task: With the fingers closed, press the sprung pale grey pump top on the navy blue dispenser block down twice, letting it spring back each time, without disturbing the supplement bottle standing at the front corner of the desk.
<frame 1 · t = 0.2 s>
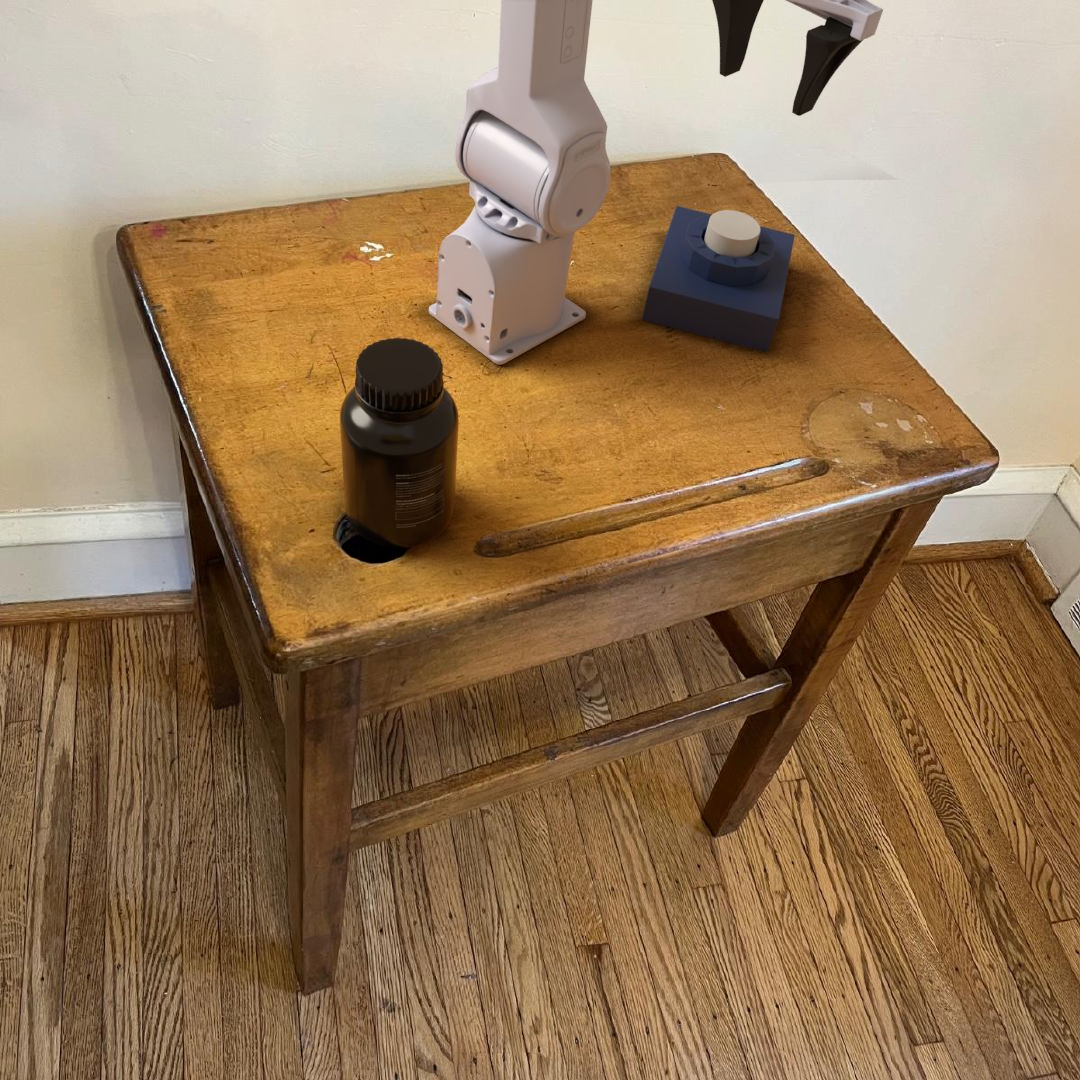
hand: (765, 91, 89), 10 cm above the table, tool pointing down, fingers open, 7 cm apart
pump top: (732, 234, 83), point 5 cm above the table, slide at 0.1 cm
supplement bottle: (398, 513, 68), on the table
dispenser: (715, 292, 87), on the table
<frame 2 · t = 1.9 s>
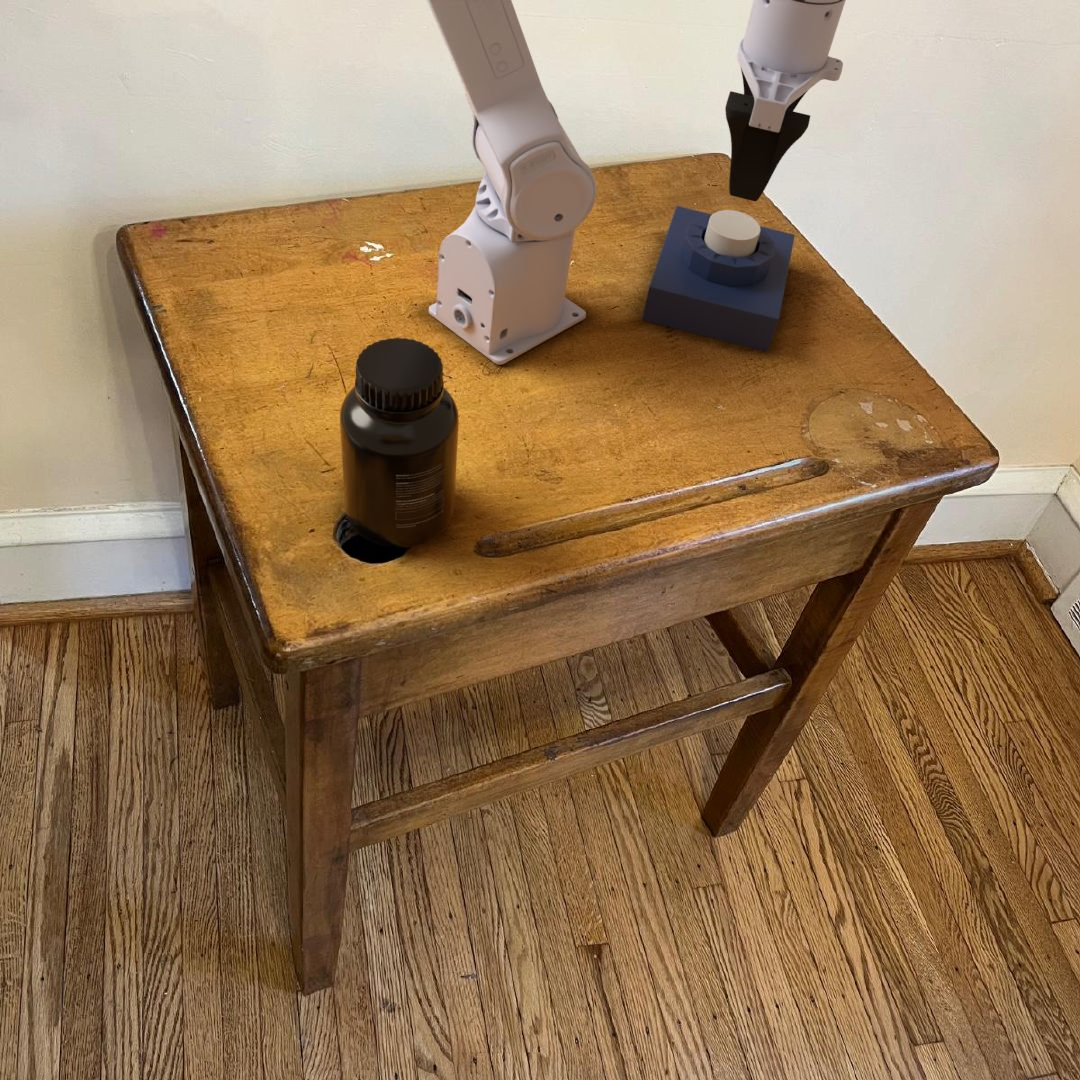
hand: (748, 176, 79), 10 cm above the table, tool pointing down, fingers open, 5 cm apart
nothing on the table moved.
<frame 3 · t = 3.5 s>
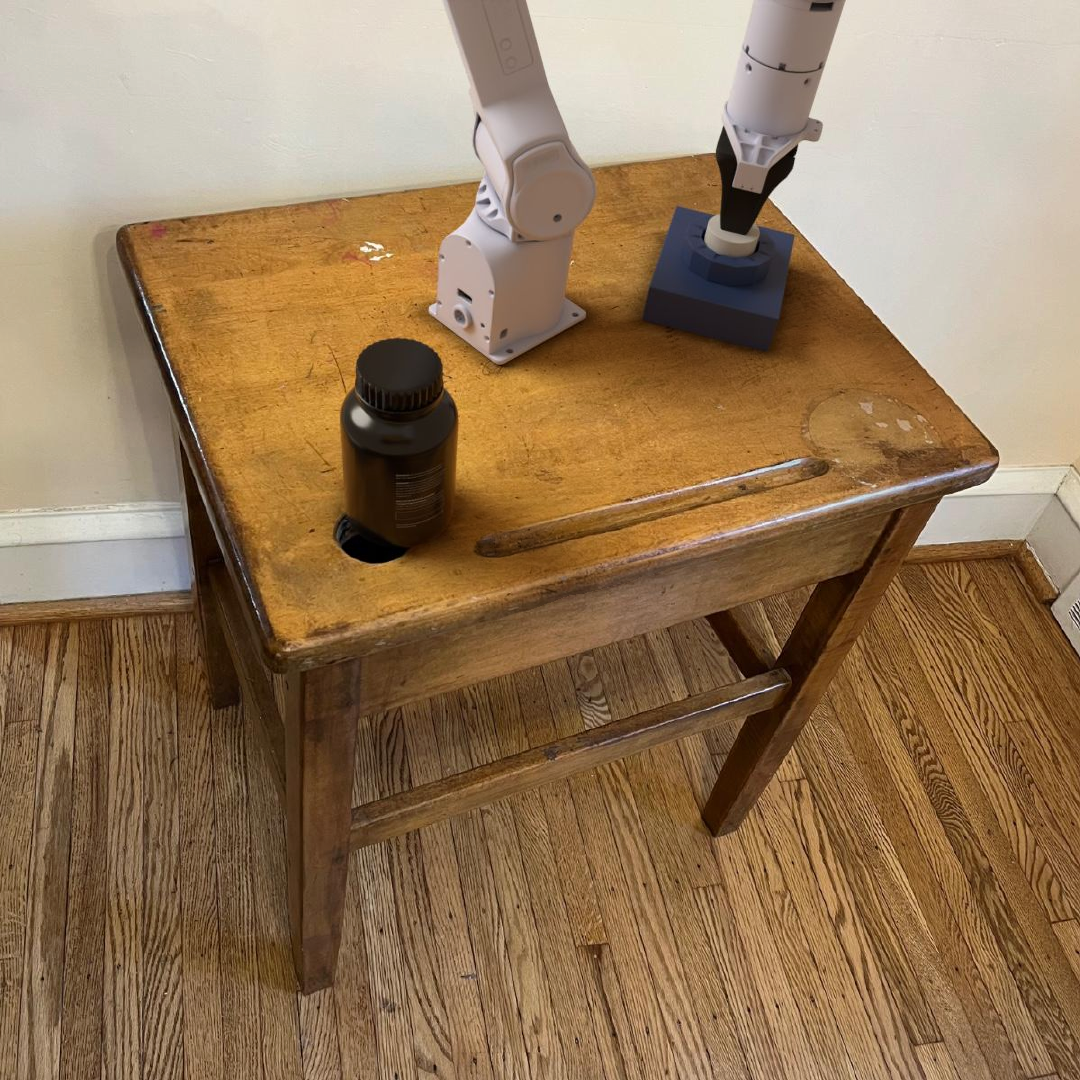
hand: (734, 228, 82), 6 cm above the table, tool pointing down, fingers closed, pressing on pump top
pump top: (731, 237, 83), point 5 cm above the table, slide at -0.2 cm, touching gripper
everything else where it was.
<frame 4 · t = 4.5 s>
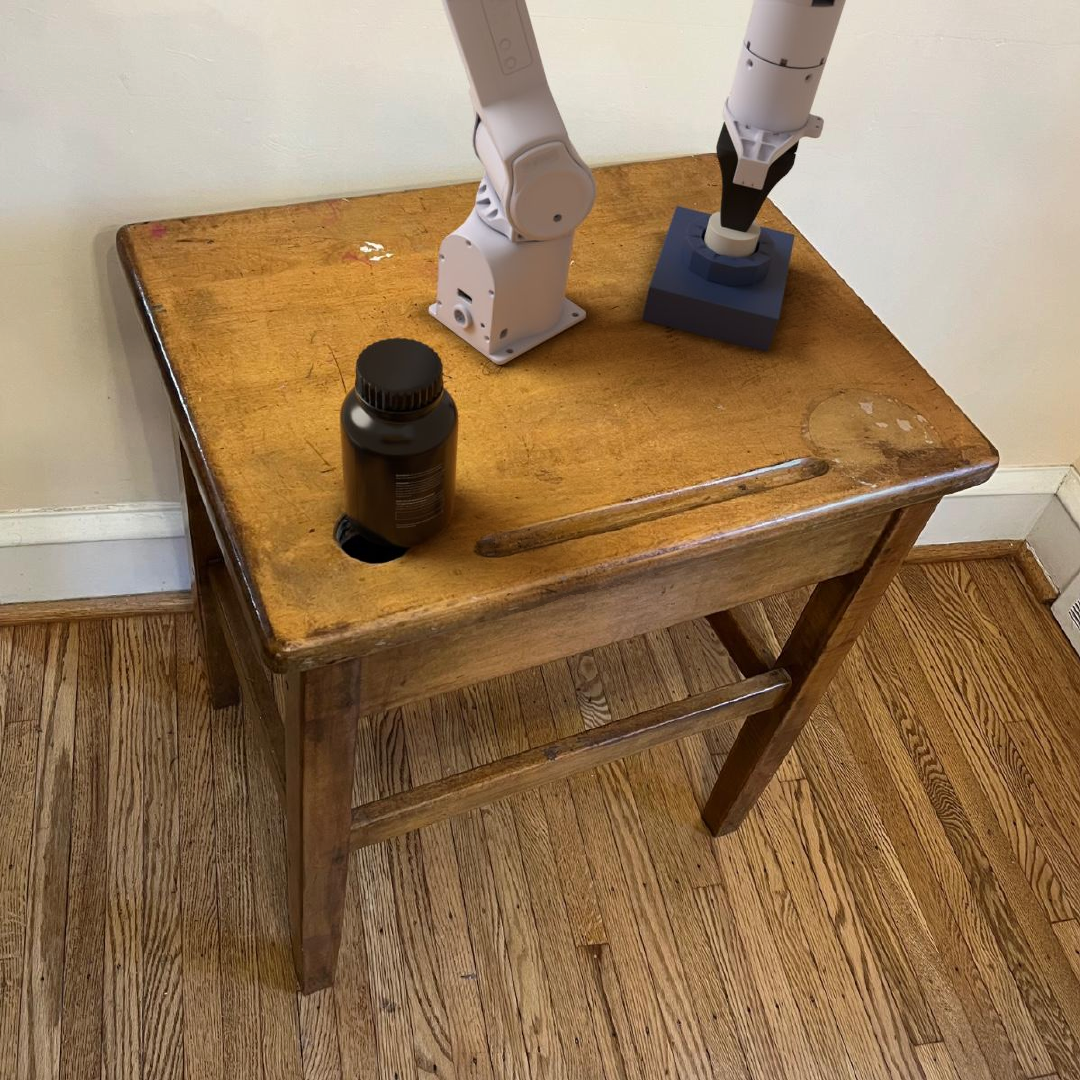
hand: (734, 225, 82), 6 cm above the table, tool pointing down, fingers closed, pressing on pump top
pump top: (732, 234, 83), point 5 cm above the table, slide at 0.1 cm, touching gripper
everything else where it was.
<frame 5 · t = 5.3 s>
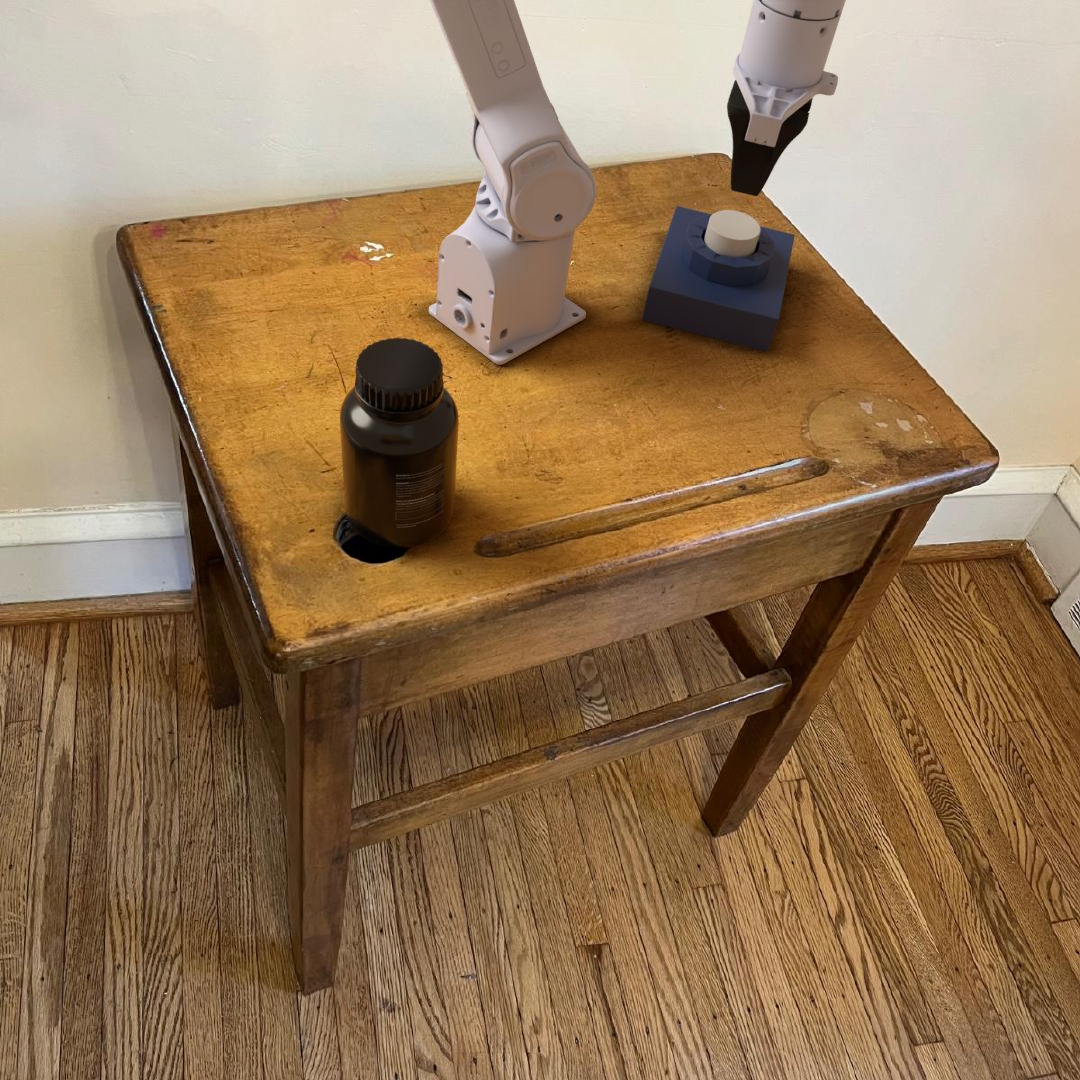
hand: (745, 188, 80), 9 cm above the table, tool pointing down, fingers closed
pump top: (732, 234, 83), point 5 cm above the table, slide at 0.1 cm
everything else where it was.
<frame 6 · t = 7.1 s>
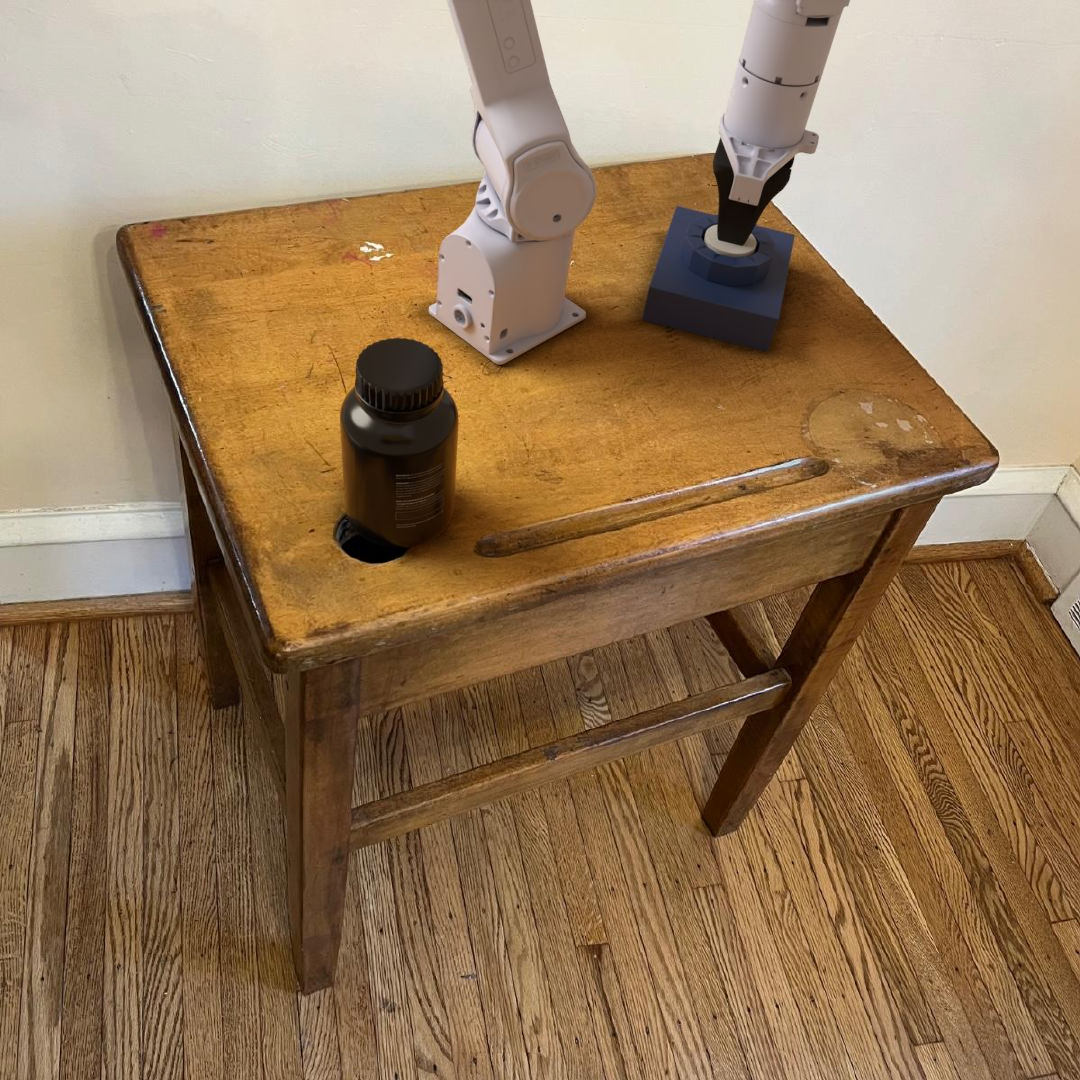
hand: (731, 238, 83), 5 cm above the table, tool pointing down, fingers closed, pressing on pump top
pump top: (728, 247, 84), point 4 cm above the table, slide at -1.1 cm, touching gripper
everything else where it was.
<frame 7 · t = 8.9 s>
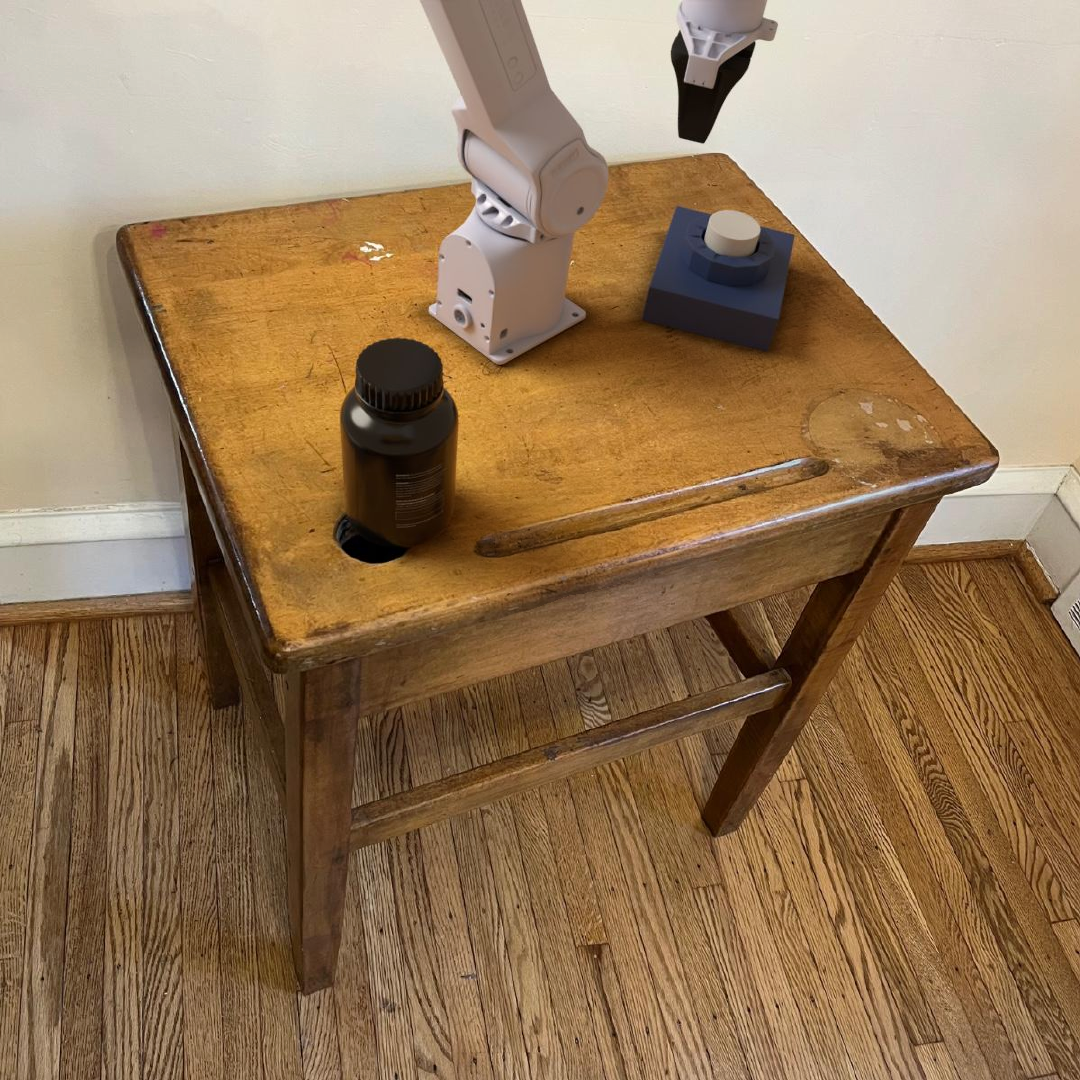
hand: (692, 136, 82), 10 cm above the table, tool pointing down, fingers closed
pump top: (732, 234, 83), point 5 cm above the table, slide at 0.1 cm
everything else where it was.
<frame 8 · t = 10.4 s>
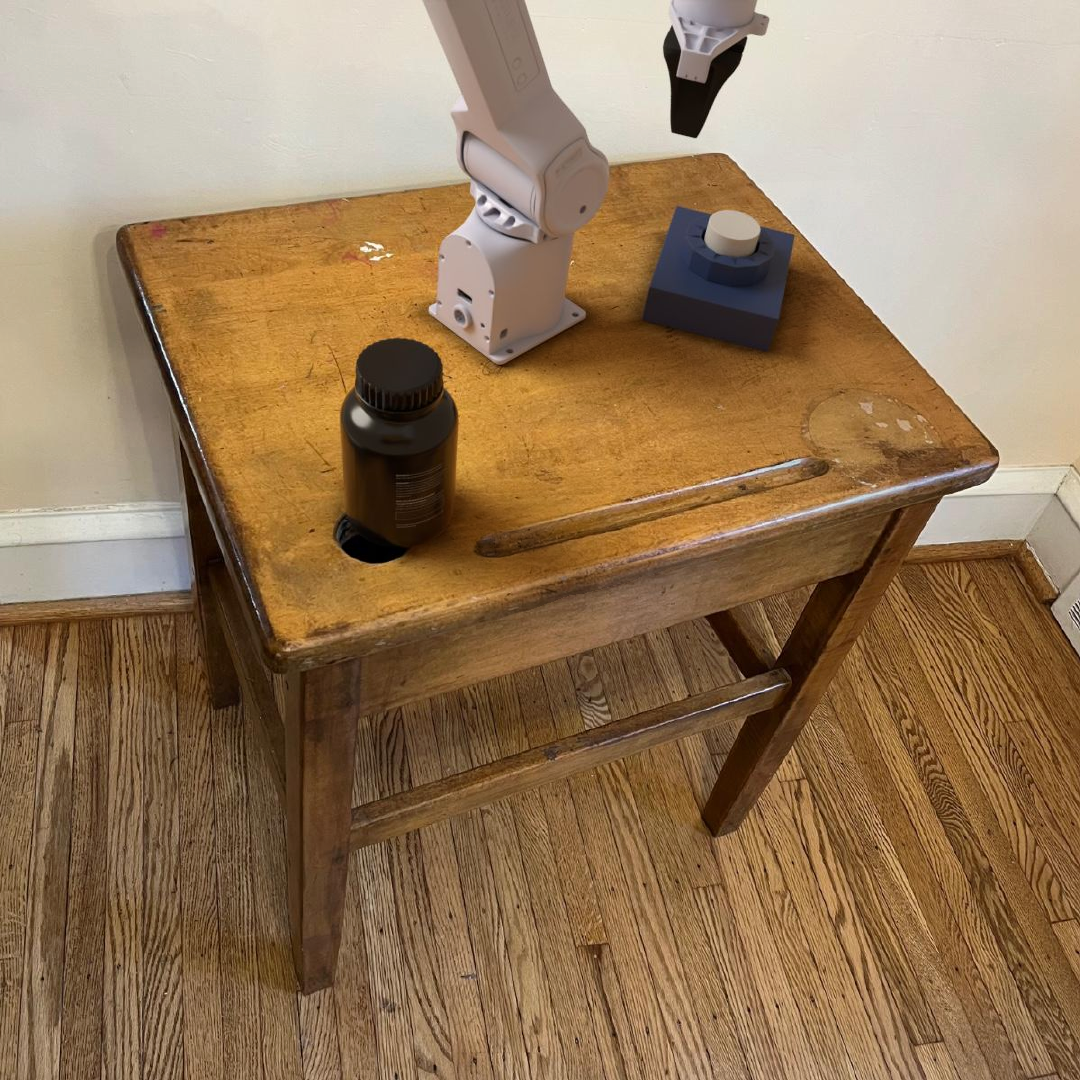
hand: (685, 131, 82), 10 cm above the table, tool pointing down, fingers closed
nothing on the table moved.
at the end: pump top pushed in 1.2 cm at the most during the clip, back to where it started at the end; pump top slide at 0.1 cm; supplement bottle moved 0.2 cm from its start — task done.
